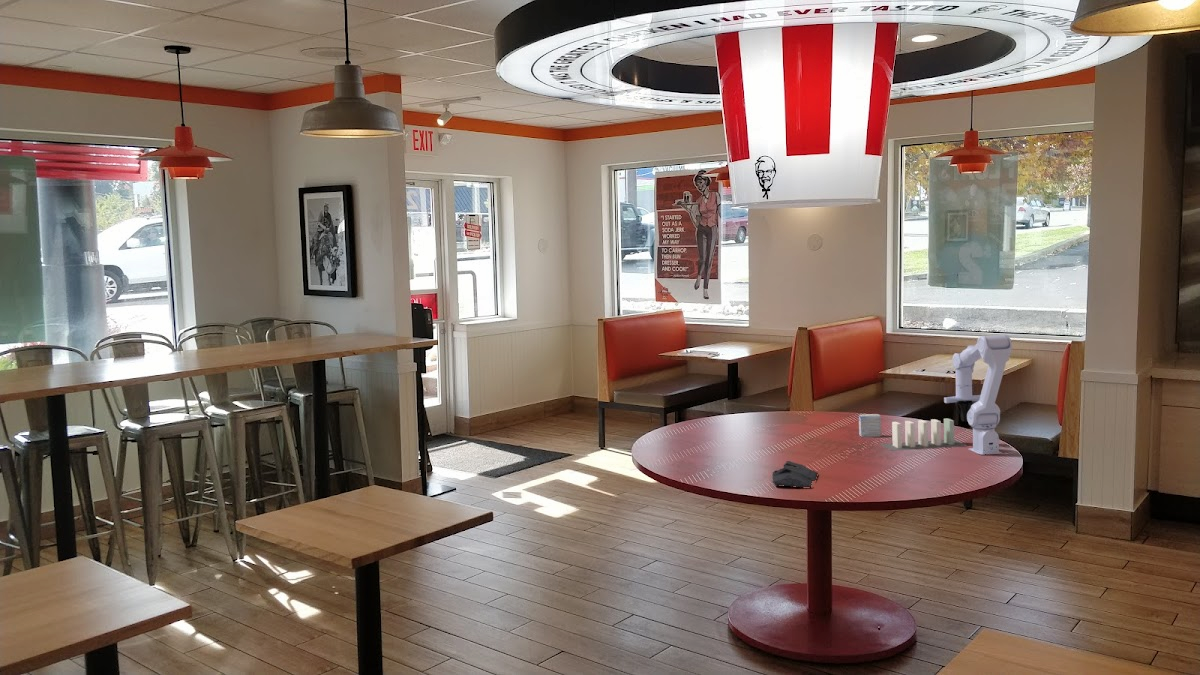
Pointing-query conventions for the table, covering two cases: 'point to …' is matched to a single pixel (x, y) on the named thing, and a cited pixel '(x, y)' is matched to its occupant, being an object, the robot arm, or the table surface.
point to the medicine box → (870, 425)
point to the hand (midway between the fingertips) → (964, 420)
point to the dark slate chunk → (794, 475)
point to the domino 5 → (949, 431)
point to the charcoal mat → (918, 446)
